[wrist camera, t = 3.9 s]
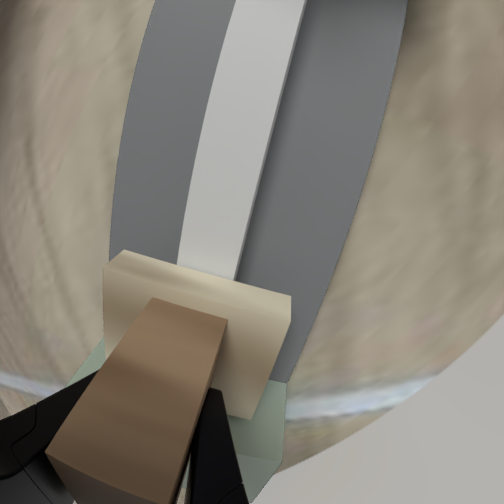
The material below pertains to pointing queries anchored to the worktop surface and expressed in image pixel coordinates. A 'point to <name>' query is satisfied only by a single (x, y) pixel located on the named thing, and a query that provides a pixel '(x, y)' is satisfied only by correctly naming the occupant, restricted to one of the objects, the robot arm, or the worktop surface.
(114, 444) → the carriage
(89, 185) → the worktop surface
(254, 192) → the rail bench
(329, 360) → the worktop surface
